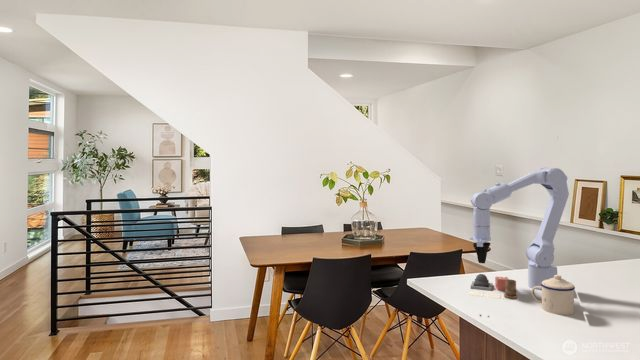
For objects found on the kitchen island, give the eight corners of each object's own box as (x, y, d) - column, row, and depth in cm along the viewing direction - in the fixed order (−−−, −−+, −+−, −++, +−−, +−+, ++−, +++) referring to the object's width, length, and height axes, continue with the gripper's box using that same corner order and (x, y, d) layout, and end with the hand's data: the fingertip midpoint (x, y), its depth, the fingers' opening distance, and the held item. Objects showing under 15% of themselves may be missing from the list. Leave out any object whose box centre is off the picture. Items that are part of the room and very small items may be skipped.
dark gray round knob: (489, 285, 159) (489, 273, 158) (488, 289, 154) (488, 276, 154) (475, 284, 161) (475, 271, 160) (474, 287, 156) (473, 275, 156)
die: (507, 287, 156) (507, 276, 156) (509, 291, 152) (509, 279, 152) (495, 287, 157) (495, 275, 156) (497, 290, 153) (497, 278, 153)
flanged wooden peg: (517, 296, 146) (517, 279, 146) (517, 299, 142) (517, 283, 142) (504, 294, 148) (504, 278, 147) (503, 298, 144) (503, 281, 144)
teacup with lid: (577, 311, 133) (577, 274, 132) (570, 320, 126) (571, 281, 126) (535, 303, 141) (535, 268, 140) (527, 311, 134) (527, 274, 134)
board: (521, 290, 155) (521, 285, 155) (520, 306, 139) (520, 300, 139) (468, 285, 163) (468, 280, 163) (462, 299, 147) (462, 294, 147)
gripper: (472, 222, 164) (472, 257, 165) (467, 228, 151) (467, 266, 152) (492, 223, 161) (492, 259, 162) (489, 229, 148) (489, 268, 149)
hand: (481, 262), depth 157 cm, fingers closed
